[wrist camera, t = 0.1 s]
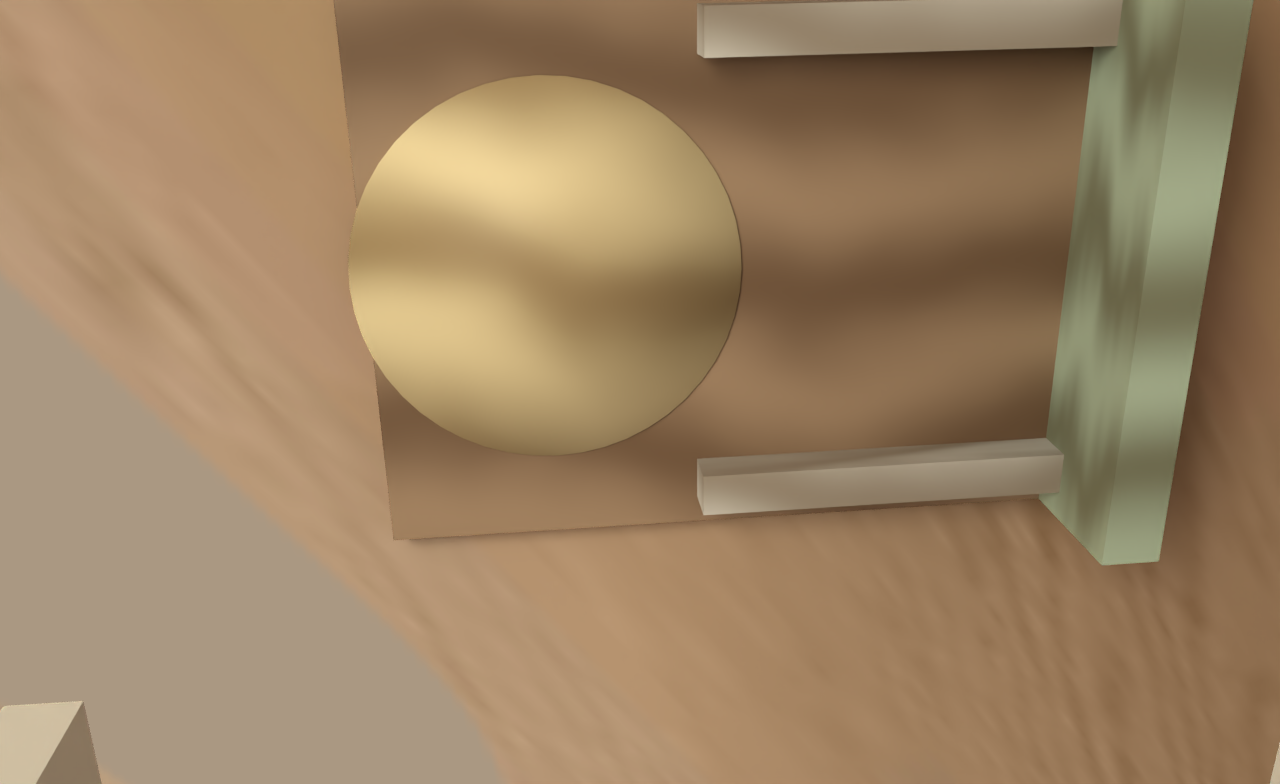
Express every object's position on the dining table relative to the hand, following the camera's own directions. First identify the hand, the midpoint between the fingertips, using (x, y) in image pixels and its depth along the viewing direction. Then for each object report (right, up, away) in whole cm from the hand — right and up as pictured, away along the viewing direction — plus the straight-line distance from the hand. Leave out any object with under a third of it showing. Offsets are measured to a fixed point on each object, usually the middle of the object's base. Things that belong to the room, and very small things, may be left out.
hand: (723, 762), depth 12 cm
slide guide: (+3, +9, +27) cm, 29 cm away
